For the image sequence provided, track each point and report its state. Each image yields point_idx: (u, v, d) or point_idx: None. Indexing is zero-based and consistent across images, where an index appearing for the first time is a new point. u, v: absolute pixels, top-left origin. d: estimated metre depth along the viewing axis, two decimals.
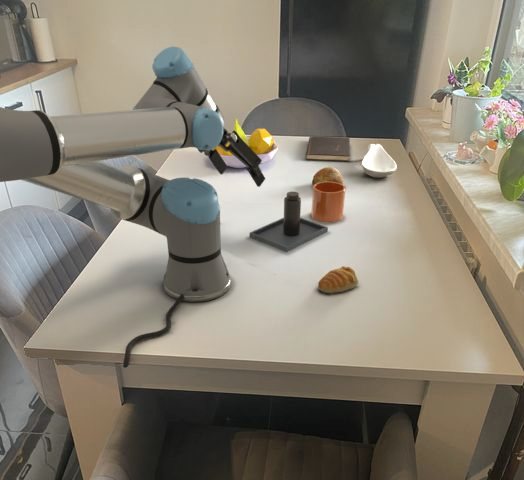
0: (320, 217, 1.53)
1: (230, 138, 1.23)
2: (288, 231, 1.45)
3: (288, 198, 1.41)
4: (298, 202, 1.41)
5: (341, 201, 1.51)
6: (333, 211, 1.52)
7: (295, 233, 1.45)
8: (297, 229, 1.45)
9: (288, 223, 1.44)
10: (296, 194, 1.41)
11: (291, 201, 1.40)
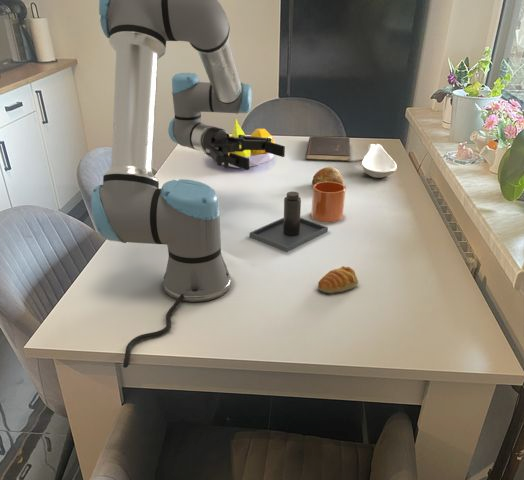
0: (320, 217, 1.53)
1: None
2: (288, 231, 1.45)
3: (288, 198, 1.41)
4: (298, 202, 1.41)
5: (341, 201, 1.51)
6: (333, 211, 1.52)
7: (295, 233, 1.45)
8: (297, 229, 1.45)
9: (288, 223, 1.44)
10: (296, 194, 1.41)
11: (291, 201, 1.40)
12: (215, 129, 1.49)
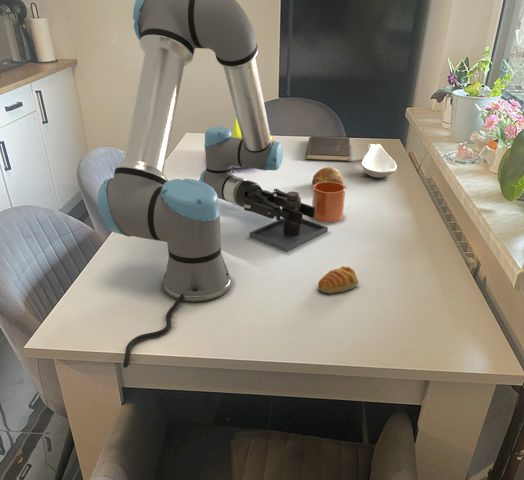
0: (320, 217, 1.53)
1: None
2: (288, 231, 1.45)
3: (288, 198, 1.41)
4: (298, 202, 1.41)
5: (341, 201, 1.51)
6: (333, 211, 1.52)
7: (295, 233, 1.45)
8: (297, 229, 1.45)
9: (288, 223, 1.44)
10: (296, 194, 1.41)
11: (291, 201, 1.40)
12: (248, 183, 1.49)
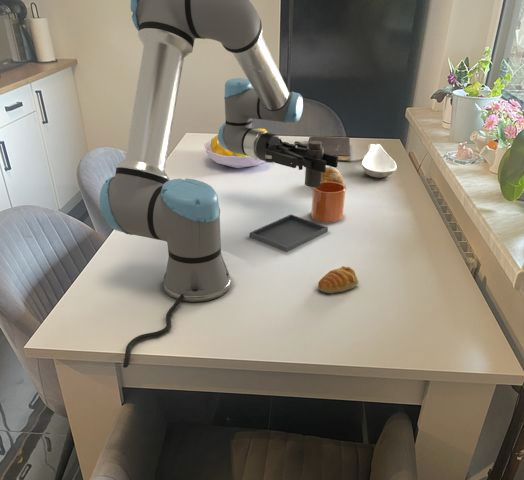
0: (320, 217, 1.53)
1: None
2: (310, 182, 1.44)
3: (311, 147, 1.39)
4: (321, 151, 1.39)
5: (341, 201, 1.51)
6: (333, 211, 1.52)
7: (317, 184, 1.44)
8: (319, 180, 1.44)
9: (310, 173, 1.42)
10: (319, 143, 1.39)
11: (314, 150, 1.39)
12: (269, 134, 1.48)
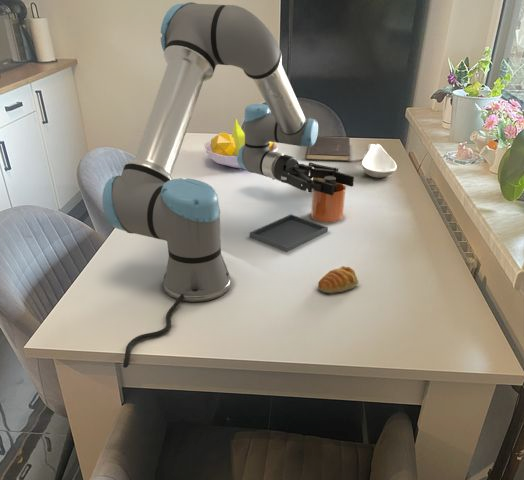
0: (320, 217, 1.53)
1: None
2: None
3: (326, 182, 1.50)
4: (335, 186, 1.50)
5: (341, 201, 1.51)
6: (333, 211, 1.52)
7: None
8: None
9: None
10: (333, 178, 1.50)
11: None
12: (286, 157, 1.57)
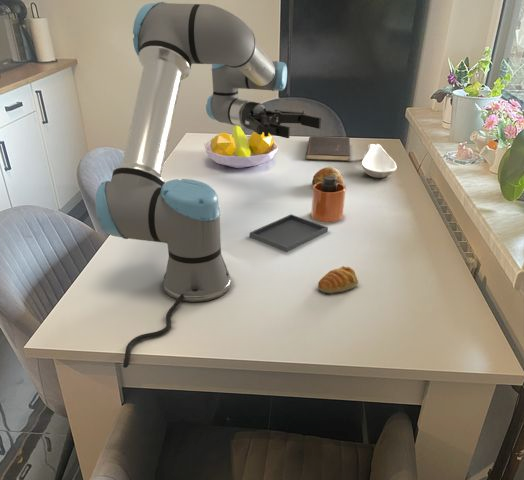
0: (320, 217, 1.53)
1: None
2: None
3: (326, 182, 1.50)
4: (335, 186, 1.50)
5: (341, 201, 1.51)
6: (333, 211, 1.52)
7: None
8: None
9: None
10: (333, 178, 1.50)
11: (328, 185, 1.50)
12: (253, 103, 1.56)
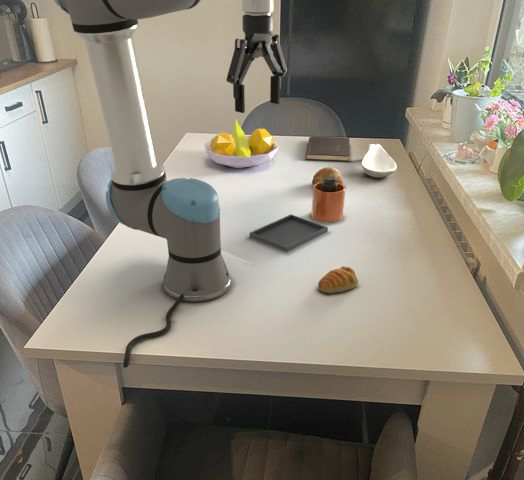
0: (320, 217, 1.53)
1: None
2: None
3: (326, 182, 1.50)
4: (335, 186, 1.50)
5: (341, 201, 1.51)
6: (333, 211, 1.52)
7: None
8: None
9: None
10: (333, 178, 1.50)
11: (328, 185, 1.50)
12: (267, 27, 1.30)
